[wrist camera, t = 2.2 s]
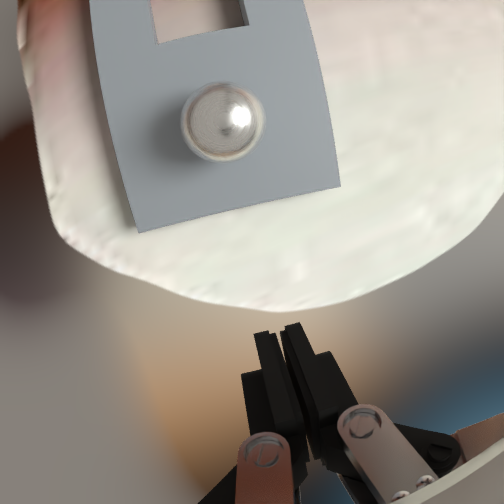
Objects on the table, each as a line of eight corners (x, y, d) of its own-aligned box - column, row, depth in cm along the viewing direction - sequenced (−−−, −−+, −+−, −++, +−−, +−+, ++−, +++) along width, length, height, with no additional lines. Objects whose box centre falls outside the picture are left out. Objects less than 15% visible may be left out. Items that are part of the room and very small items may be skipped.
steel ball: (176, 97, 18) (165, 86, 13) (251, 81, 18) (263, 65, 13) (193, 167, 20) (187, 178, 15) (265, 151, 20) (282, 156, 15)
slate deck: (95, -19, 14) (87, -28, 12) (275, -56, 15) (280, -67, 13) (144, 225, 23) (138, 233, 21) (330, 182, 23) (340, 186, 21)
